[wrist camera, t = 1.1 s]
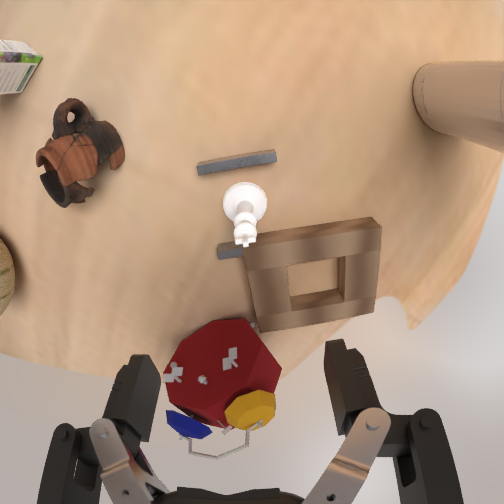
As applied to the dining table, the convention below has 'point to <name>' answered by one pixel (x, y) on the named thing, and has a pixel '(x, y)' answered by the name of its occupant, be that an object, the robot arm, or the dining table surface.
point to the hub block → (307, 250)
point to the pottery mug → (76, 153)
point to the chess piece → (245, 210)
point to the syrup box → (16, 65)
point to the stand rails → (231, 163)
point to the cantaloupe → (6, 277)
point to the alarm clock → (221, 382)
